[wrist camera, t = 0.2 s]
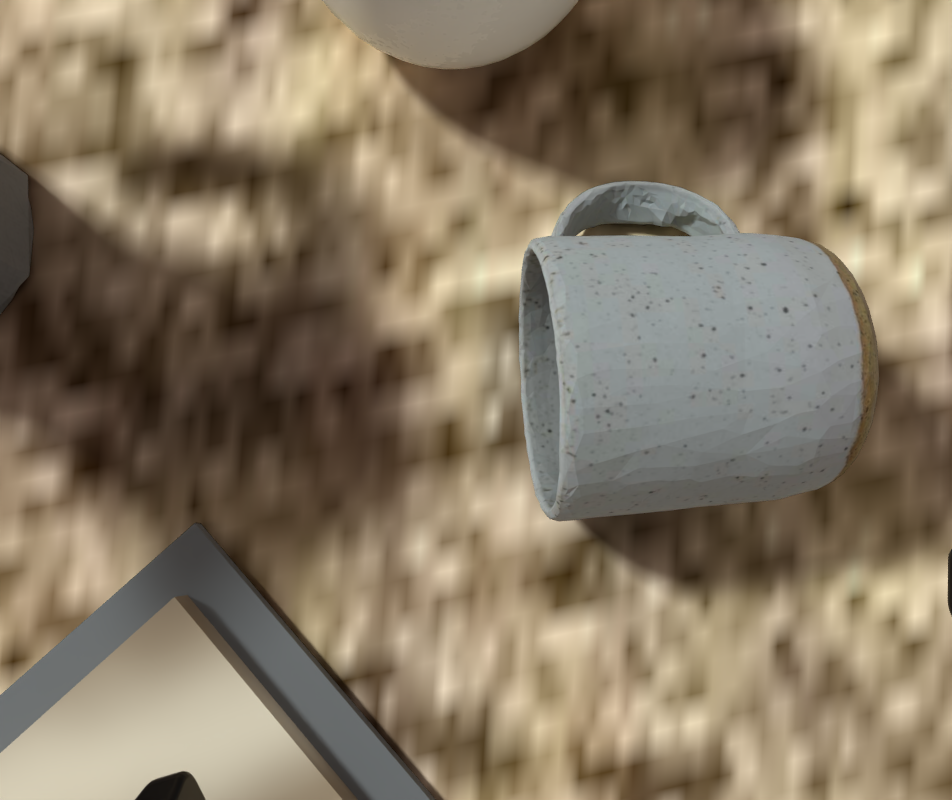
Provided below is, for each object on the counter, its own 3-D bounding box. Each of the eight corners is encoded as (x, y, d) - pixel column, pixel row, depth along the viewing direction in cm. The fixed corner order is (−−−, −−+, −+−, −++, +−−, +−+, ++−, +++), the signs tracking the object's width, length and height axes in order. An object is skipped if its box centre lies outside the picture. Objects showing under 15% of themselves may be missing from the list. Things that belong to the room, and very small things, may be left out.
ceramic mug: (794, 503, 24) (940, 475, 16) (534, 528, 24) (561, 513, 16) (737, 192, 26) (843, 42, 19) (499, 213, 26) (508, 71, 18)
